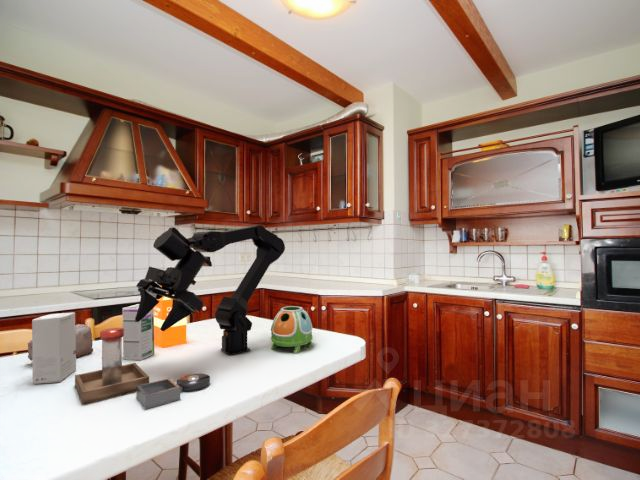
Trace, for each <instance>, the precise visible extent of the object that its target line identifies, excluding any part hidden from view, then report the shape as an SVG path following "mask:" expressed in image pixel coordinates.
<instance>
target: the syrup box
mask: <svg viewBox="0 0 640 480" xmlns="http://www.w3.org/2000/svg"><path fill="white" fill-rule="evenodd" d="M139 304H140V303H137V304H134V305H130V306H126V307H122V310H121V311H122V312H121V314H122V328H124V336H123V337H122V360H127V361H143V360H145V359H147V358H149V357H151V356H153V355H155V344H154V308H153V309H152V310H151V311H150V312H149V313H148V314H147V315H146V316H145V317H144V318H143V319H141V320H140V321H139V322H137V321H136V320H135V318H136V314H137V311H138V308H139Z"/></svg>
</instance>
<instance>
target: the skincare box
mask: <svg viewBox="0 0 640 480" xmlns="http://www.w3.org/2000/svg"><path fill="white" fill-rule="evenodd" d="M75 326H76V312H61V313H60V312H59V313H50V314H46V315H43V316H42V315H41V316H39V317H36V318H34V319H32V321H31V331H32V332H31V334H32V338H31V339H32V357H33V360H32V385H36V384H37V385H38V384H52V383H54V384H55V383H61V382H62V381H64V380H65V379H66V378H67V377H69V376H70V375H71V374H73V373H75V372H76V371H77V357H76V333H75Z"/></svg>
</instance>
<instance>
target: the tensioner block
mask: <svg viewBox="0 0 640 480" xmlns="http://www.w3.org/2000/svg"><path fill="white" fill-rule="evenodd" d="M210 384H211V376H210V375H209V374H207V373H204V372H201V373H200V372H198V373H197V372H196V373H189V374H185V375H183V376H180V377H178V378H177V379H176V382H175V381H174V380H173V379H172V378H170V377H168V378H164V379H159V380H156V381H151V382H149V383H147V384H142V385H138V386H136V392H135V393H136V397H135V398H136V399H137V401H138V402H139V404H140V405H141V406H142V408H143V409H144V410H148V409H152V408H156V407H159V406H162V405H166V404H169V403H172V402H176V401H179V400H181V393H183V392H184V393H191V392H192V393H193V392H198V391H201V390H204V389H206V388H208V387H209V386H210Z"/></svg>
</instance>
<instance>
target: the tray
mask: <svg viewBox="0 0 640 480" xmlns="http://www.w3.org/2000/svg"><path fill="white" fill-rule="evenodd" d="M147 383H150V376H149V375H148V374H147V373H146V372H145V370H143V369H142V368H141V367H140V366H139V365H138V364H137V363H136V362H133V363H128V364H122V382H120V383H116V384H112V385H107V386H103V387H102V369H97V370H93V371H89V372H84V373H79V374H75V375H74V387H75V390H76V392H77V393H76V394H77V395H78V398H79V400H80V402H81V405H82V406H85V405H90V404H92V403H97V402H100V401H105V400H108V399H112V398H116V397H120V396H124V395H128V394H133V393H136V386H138V385H142V384H147Z"/></svg>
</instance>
